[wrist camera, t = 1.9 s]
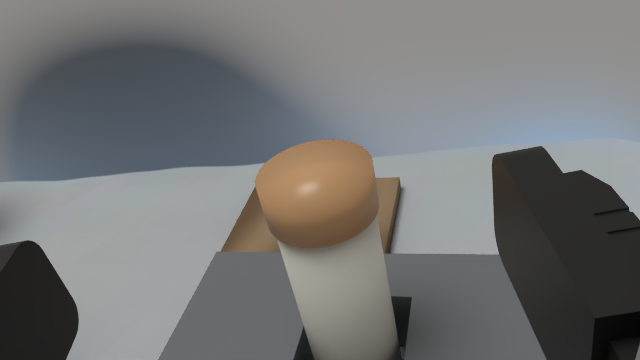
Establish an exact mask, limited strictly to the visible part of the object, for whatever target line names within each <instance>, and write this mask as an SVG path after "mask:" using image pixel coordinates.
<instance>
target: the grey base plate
mask: <svg viewBox="0 0 640 360" xmlns="http://www.w3.org/2000/svg"><path fill="white" fill-rule="evenodd" d="M384 260H385V265H386V271H387V277H388V283H389V289H390V294H391V300H392V306H393V312H394V317H395V323H396V329H397V335H398V340H399V345H401V346H406V349H405V357H404V360H546V357H545V355H544V353H543V351H542V349H541V346H540V344H539V342H538V340H537V338H536V335H535V333H534V331H533V329H532V327H531V325H530V322H529V320H528V318H527V316H526V314H525V311H524V309H523V307H522V305H521V303H520V301H519V298H518V296H517V294H516V292H515V290H514V287H513V285H512V283H511V281H510V279H509V276H508V274H507V272H506V270H505V268H504V265H503V263H502V260H501V258H500V255H476V254H384ZM158 360H314V358H313V354H312V351H311V348H310V345H309V342H308V338H307V335H306V332H305V329H304V325H303V322H302V319H301V316H300V312H299V309H298V306H297V303H296V299H295V296H294V293H293V290H292V286H291V283H290V280H289V277H288V273H287V270H286V267H285V264H284V261H283V257H282V254H281V252H216V254H215V256H214V258H213V260H212V261H211V263H210V265H209V267H208V269H207V271H206V273H205V274H204V276H203V278H202V280H201V282H200V284H199V285H198V287H197V289H196V291H195V293H194V295H193V297H192V298H191V300H190V302H189V304H188V306H187V308H186V309H185V311H184V313H183V315H182V317H181V319H180V321H179V322H178V324H177V326H176V328H175V330H174V332H173V333H172V335H171V337H170V339H169V341H168V343H167V345H166V346H165V348H164V350H163V352H162V354H161V356H160V357H159V359H158Z"/></svg>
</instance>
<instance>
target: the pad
mask: <svg viewBox="0 0 640 360" xmlns="http://www.w3.org/2000/svg"><path fill="white" fill-rule="evenodd" d="M375 179H376V185H377V191H378V197H379V210H378V213H377V219H378V225H379V231H380V237H381V242H382V248H383V254H389V249H390V243H391V238H392V233H393V227H394V222H395V216H396V211H397V205H398V200H399V195H400V189H401V186H400V179H399V177H396V178H375ZM221 252H281V251H280V248H279V244H278V241H277V239H276V238H275V237H274V236H273V235H272V234H271V232H270V230H269V228H268V225H267V222H266V219H265V216H264V212H263V209H262V206H261V203H260V200H259V197H258V193H257V190H256V186H255V188H254V190H253V192H252V194H251V196H250V197H249V199H248V201H247V203H246V205H245V207H244V209H243V211H242V212H241V214H240V216H239V218H238V220H237V222H236V224H235V226H234V227H233V229H232V231H231V233H230V235H229V237H228V239H227V241H226V242H225V244H224V246H223V248H222V250H221Z"/></svg>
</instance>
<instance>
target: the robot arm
mask: <svg viewBox="0 0 640 360" xmlns="http://www.w3.org/2000/svg"><path fill="white" fill-rule="evenodd" d="M492 178H493V204H494V228H495V237H496V242H497V247H498V251H499V254H500V258H501V260H502V263H503V265H504V268H505V270H506V272H507V274H508V276H509V279H510V281H511V283H512V285H513V287H514V290H515V292H516V294H517V296H518V298H519V301H520V303H521V305H522V307H523V309H524V311H525V314H526V316H527V318H528V320H529V322H530V325H531V327H532V329H533V331H534V333H535V335H536V338H537V340H538V342H539V344H540V346H541V349H542V351H543V353H544V355H545V357H546V360H640V220H639V219H638V218H637V217H636V215H635V214H634V213H633V212H630V211H629V207H628V206H627V205H626V204H625V202H624V201H623V200H622V199H621V198H620V197H619V195H618V194H617V193H616V192H615V191H614V189H613V188H612V187H611V186H610V185H608V184H606V183H604V182H602V181H601V180H599V179H597V178H595V177H593V176H592V175H590V174H588V173H586V172H584V171H582V170H579V171H574V172H568V173H563V172H562V171H561V170H560V168H559V167H558V166H557V164H556V163H555V162H554V160H553V159H552V158H551V156H550V155H549V154H548V152H547V151H546V150H545V149H544V148H543V147H541V146H539V147H533V148H528V149H523V150H517V151H512V152H506V153H501V154H496V155H494V157H493V160H492ZM78 321H79V319H78V311H77V307H76V304H75V302H74V300H73V298H72V296H71V295H70V293H69V292H68V290H67V288H66V287H65V285H64V284H63V282H62V280H61V279H60V277H59V276H58V274H57V272H56V271H55V269H54V267H53V266H52V264H51V263H50V261H49V259H48V258H47V256H46V255H45V253H44V251H43V250H42V249H41V247H40V246H39V245H38V244H37V243H35V242H33V241H29V240H28V241H22V242H17V243H11V244H6V245H0V360H66V358H67V356H68V353H69V351H70V349H71V346H72V344H73V342H74V339H75V337H76V334H77V331H78Z"/></svg>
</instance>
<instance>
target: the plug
mask: <svg viewBox="0 0 640 360" xmlns="http://www.w3.org/2000/svg"><path fill="white" fill-rule="evenodd" d="M255 186H256V190H257V193H258V197H259V200H260V203H261V206H262V209H263V212H264V216H265V219H266V222H267V225H268V228H269V230H270V232H271V234H272V235H273V236H274V237H275V238H276V239H277V241H278V244H279V248H280V251H281V254H282V257H283V261H284V264H285V267H286V270H287V273H288V277H289V280H290V283H291V286H292V290H293V293H294V296H295V299H296V303H297V306H298V309H299V312H300V316H301V319H302V322H303V325H304V329H305V332H306V335H307V338H308V342H309V345H310V348H311V351H312V354H313V358H314V360H402V358H401V352H400V346H399V340H398V335H397V329H396V323H395V317H394V312H393V306H392V300H391V294H390V289H389V283H388V277H387V271H386V265H385V260H384V254H383V248H382V242H381V237H380V231H379V225H378V219H377V213H378V210H379V197H378V191H377V185H376V179H375V173H374V167H373V161H372V158H371V155H370V154H369V152H368V151H366V149H364V148H363V147H362V146H360V145H357V144H355V143H352V142H349V141H344V140H317V141H311V142H307V143H303V144H300V145H296V146H294V147H291V148H289V149H286V150H284V151H282V152H280V153H279V154H277V155H275V156H274V157H273V158H271V159H270V160H269V161H268V162H266V163H265V164H264V165H263V167H262V168H261V169H260V171H259V172H258V174H257V177H256V181H255Z"/></svg>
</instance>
